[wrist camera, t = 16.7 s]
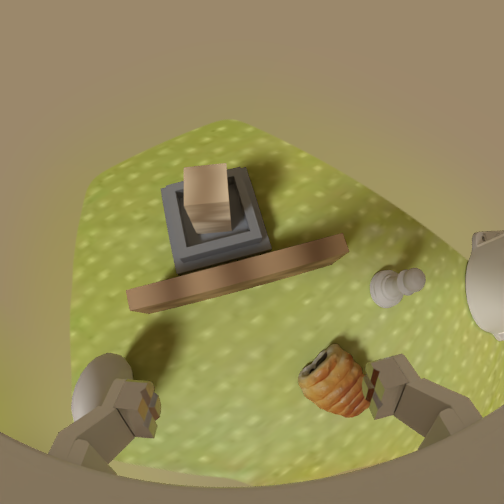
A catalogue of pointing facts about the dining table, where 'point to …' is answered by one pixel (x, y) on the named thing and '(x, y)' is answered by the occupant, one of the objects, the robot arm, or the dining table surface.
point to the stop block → (207, 198)
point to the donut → (98, 382)
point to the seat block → (221, 243)
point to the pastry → (334, 382)
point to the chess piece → (395, 286)
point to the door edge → (237, 275)
